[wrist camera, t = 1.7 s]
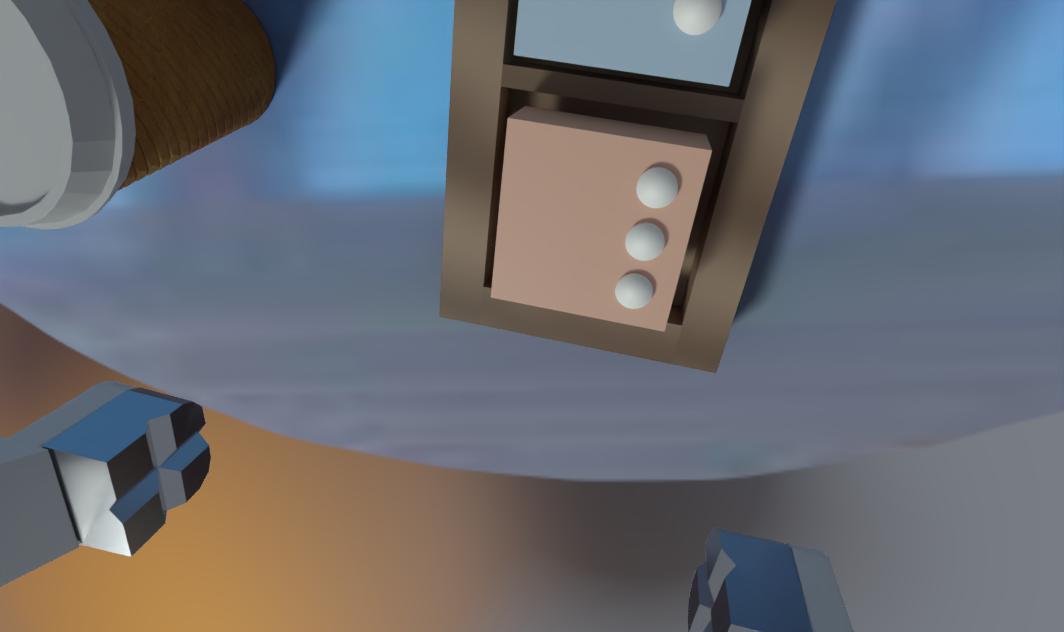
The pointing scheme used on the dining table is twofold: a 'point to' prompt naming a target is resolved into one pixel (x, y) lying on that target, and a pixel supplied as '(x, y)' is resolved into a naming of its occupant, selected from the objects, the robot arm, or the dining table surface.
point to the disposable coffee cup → (117, 96)
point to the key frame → (718, 111)
